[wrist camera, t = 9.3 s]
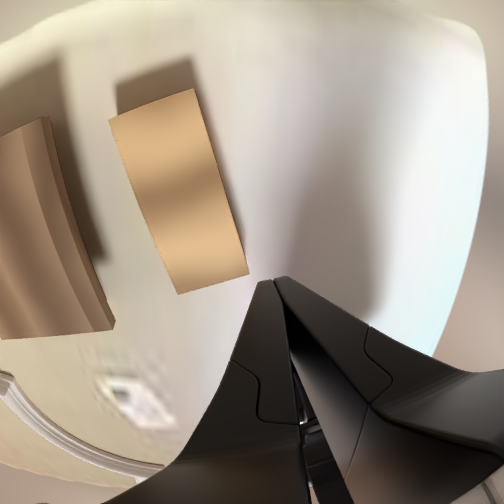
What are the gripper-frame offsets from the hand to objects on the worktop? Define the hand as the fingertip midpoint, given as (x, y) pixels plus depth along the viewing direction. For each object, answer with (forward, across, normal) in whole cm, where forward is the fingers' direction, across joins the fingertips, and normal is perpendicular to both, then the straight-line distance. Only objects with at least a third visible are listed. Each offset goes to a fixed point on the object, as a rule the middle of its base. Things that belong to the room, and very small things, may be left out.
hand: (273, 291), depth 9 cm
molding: (+13, +32, +30) cm, 46 cm away
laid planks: (+12, +16, 0) cm, 20 cm away
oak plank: (+12, +3, 0) cm, 13 cm away
